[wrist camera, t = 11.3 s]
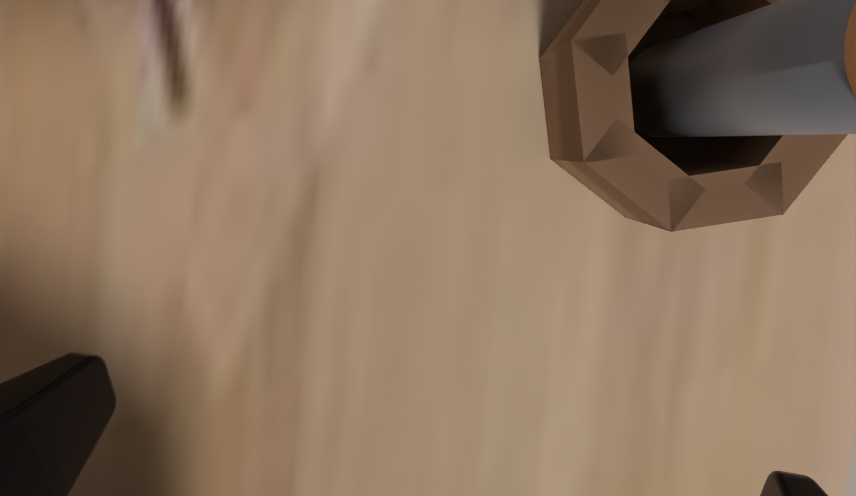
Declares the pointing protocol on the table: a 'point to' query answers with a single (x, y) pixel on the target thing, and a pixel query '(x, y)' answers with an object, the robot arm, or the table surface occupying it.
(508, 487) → the table surface
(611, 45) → the bead
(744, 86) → the grey knob-topped cylinder
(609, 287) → the table surface
